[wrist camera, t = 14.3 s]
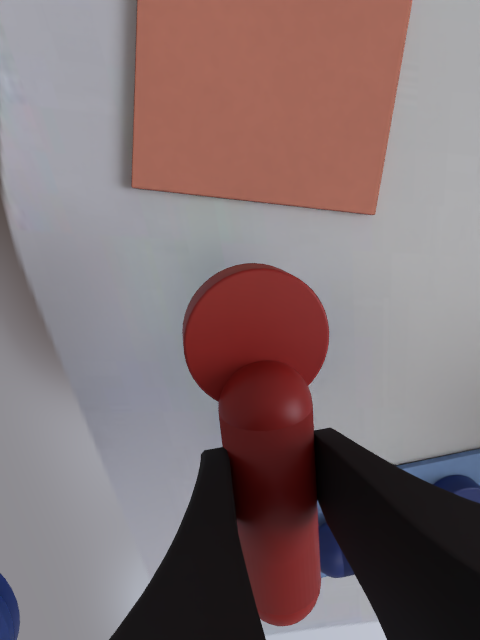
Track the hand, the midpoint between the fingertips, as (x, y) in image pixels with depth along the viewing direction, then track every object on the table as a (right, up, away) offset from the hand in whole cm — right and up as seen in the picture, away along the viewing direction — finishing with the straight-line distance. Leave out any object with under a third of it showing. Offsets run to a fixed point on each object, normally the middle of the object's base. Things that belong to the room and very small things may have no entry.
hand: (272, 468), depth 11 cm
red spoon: (0, 0, +1) cm, 1 cm away
